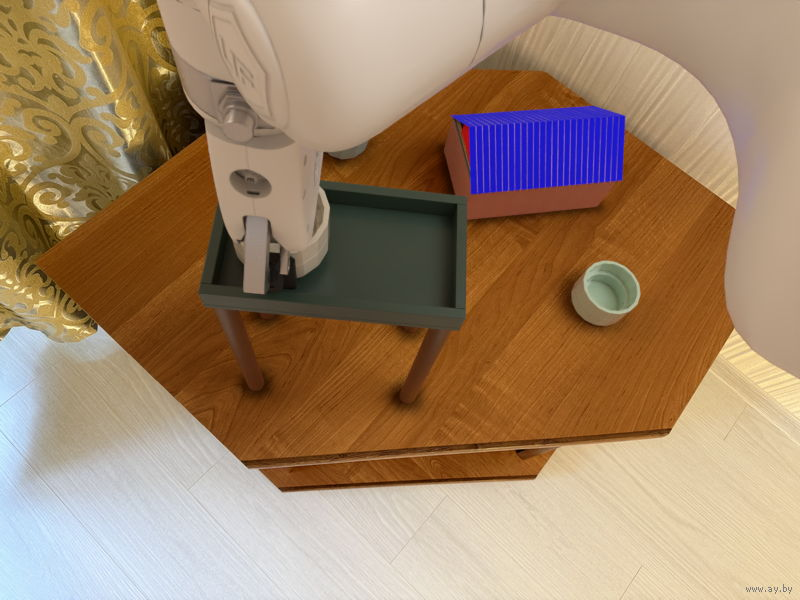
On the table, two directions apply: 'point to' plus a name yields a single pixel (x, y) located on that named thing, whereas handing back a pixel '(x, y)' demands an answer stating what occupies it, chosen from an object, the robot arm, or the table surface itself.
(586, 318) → the dish
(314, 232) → the dish
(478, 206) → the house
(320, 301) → the tray
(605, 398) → the table surface
